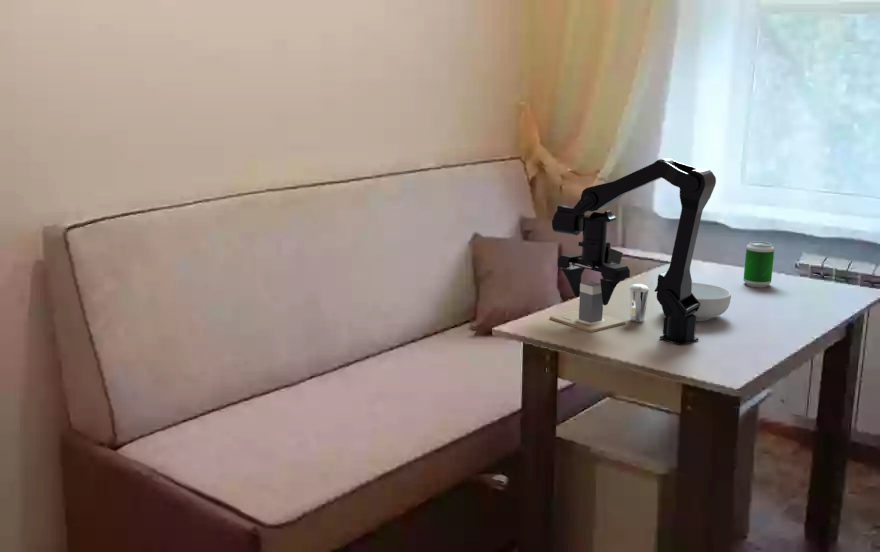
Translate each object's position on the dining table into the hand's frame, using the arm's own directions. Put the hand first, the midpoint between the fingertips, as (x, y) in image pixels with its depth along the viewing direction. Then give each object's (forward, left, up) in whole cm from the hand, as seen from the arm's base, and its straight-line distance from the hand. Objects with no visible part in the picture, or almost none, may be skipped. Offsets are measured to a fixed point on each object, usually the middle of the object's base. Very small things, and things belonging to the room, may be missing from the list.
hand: (591, 300), depth 233 cm
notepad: (+1, 0, -5) cm, 5 cm away
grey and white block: (0, 0, -5) cm, 5 cm away
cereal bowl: (-12, -25, -6) cm, 28 cm away
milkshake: (-6, -11, -6) cm, 14 cm away
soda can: (-2, -67, -6) cm, 67 cm away
